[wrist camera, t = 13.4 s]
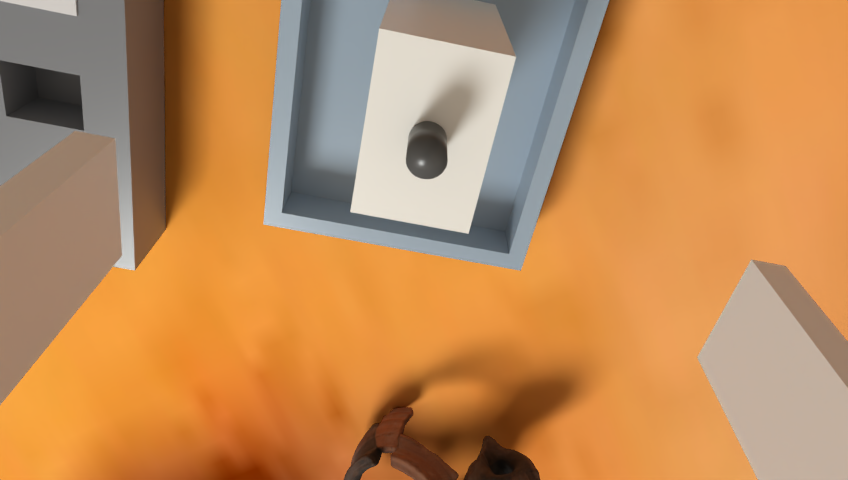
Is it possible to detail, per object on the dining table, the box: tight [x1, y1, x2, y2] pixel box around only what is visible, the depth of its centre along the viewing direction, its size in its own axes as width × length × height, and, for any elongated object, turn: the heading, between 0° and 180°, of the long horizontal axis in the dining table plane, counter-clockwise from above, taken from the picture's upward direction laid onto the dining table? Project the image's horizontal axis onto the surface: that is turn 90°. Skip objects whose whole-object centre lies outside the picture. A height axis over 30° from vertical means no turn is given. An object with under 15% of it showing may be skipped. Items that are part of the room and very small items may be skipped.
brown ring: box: [344, 407, 540, 480], centre depth 40 cm, size 12×10×8 cm
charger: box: [350, 0, 516, 234], centre depth 23 cm, size 6×4×12 cm, turn 169°
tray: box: [264, 0, 609, 271], centre depth 28 cm, size 18×13×3 cm
